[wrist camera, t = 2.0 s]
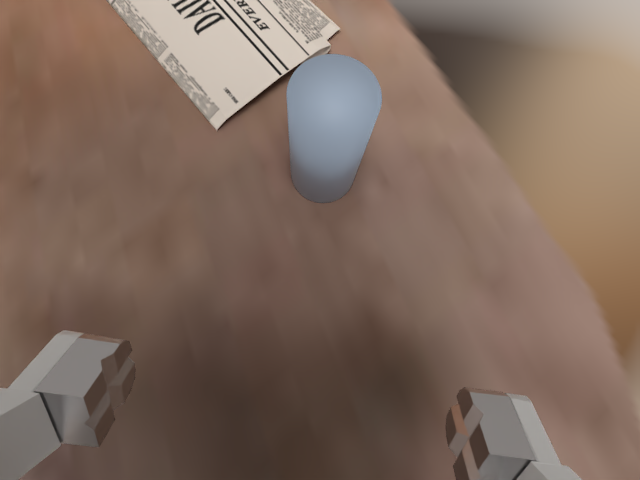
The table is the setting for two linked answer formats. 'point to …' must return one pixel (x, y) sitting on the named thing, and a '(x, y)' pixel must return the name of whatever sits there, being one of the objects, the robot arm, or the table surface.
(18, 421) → the robot arm
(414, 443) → the table surface
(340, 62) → the blue peg
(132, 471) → the table surface
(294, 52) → the newspaper
